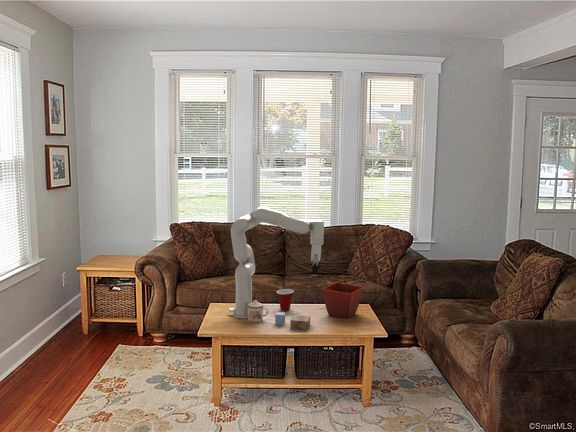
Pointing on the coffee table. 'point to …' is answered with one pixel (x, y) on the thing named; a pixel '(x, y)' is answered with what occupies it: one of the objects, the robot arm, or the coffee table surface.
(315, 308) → the coffee table surface
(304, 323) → the walnut plinth
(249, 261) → the robot arm
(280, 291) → the plastic cup
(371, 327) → the coffee table surface
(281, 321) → the slate block
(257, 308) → the teacup with lid
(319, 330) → the coffee table surface
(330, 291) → the plant pot
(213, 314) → the coffee table surface
